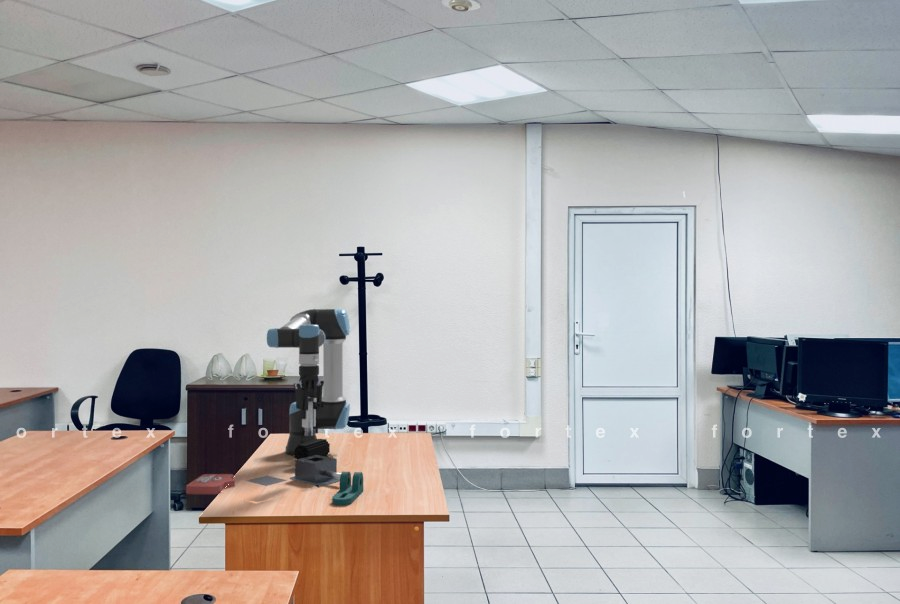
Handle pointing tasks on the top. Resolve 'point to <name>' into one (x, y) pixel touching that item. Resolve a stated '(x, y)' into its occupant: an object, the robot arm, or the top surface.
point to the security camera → (312, 449)
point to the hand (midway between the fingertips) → (308, 426)
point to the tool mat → (266, 480)
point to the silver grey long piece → (310, 416)
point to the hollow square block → (316, 470)
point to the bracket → (348, 489)
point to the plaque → (210, 484)
